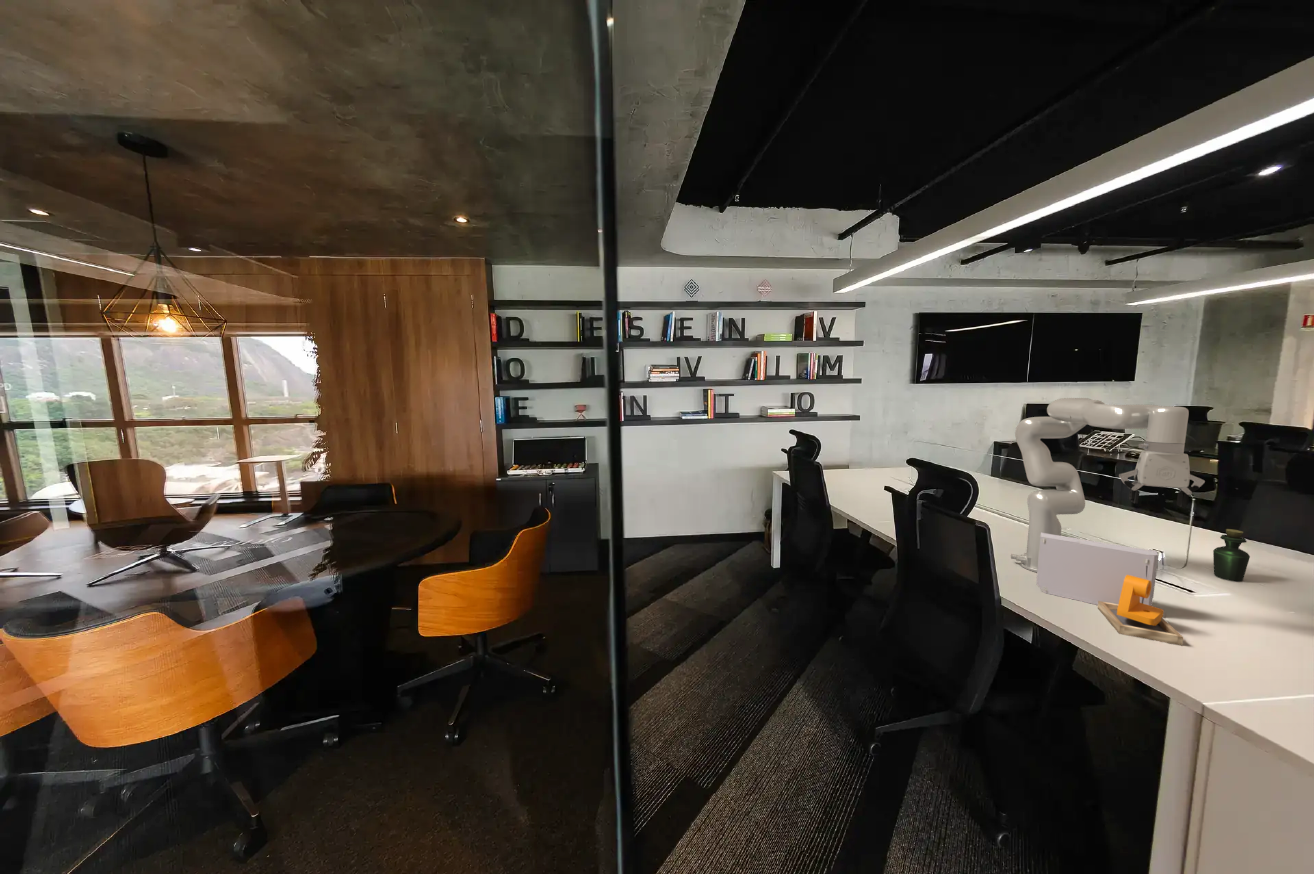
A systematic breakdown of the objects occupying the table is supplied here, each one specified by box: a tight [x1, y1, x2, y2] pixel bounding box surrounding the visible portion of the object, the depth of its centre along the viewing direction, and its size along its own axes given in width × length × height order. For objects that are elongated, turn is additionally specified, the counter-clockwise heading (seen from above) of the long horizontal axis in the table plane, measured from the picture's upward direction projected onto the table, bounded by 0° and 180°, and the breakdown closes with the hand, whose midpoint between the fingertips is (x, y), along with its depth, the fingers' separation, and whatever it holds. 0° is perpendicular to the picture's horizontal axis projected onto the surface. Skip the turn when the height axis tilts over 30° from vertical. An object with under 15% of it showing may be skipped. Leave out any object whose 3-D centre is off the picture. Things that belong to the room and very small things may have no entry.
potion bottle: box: [1212, 528, 1251, 583], centre depth 159 cm, size 8×8×18 cm
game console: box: [1035, 533, 1159, 606], centre depth 144 cm, size 6×27×20 cm, turn 47°
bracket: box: [1117, 575, 1165, 626], centre depth 129 cm, size 11×7×12 cm, turn 119°
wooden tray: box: [1097, 601, 1184, 647], centre depth 130 cm, size 12×16×2 cm
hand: (1157, 504), depth 130 cm, fingers open, 9 cm apart
